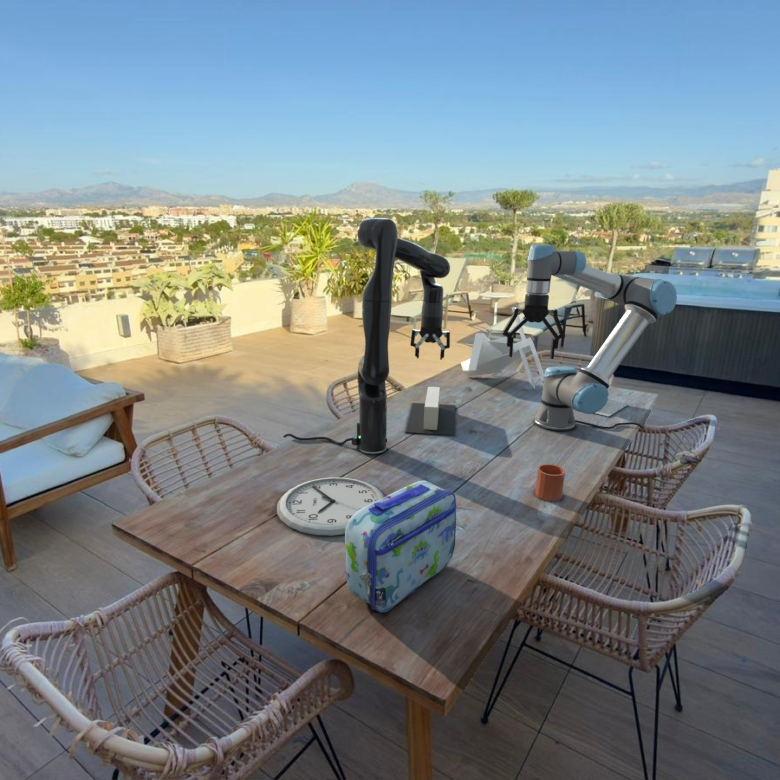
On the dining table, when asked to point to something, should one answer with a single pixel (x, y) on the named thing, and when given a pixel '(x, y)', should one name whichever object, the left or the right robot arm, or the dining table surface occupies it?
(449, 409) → the dark rubber mat
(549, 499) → the terracotta pot
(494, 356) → the white plastic object
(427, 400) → the cream beam
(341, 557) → the dining table surface
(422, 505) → the lunch box
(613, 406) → the invitation card
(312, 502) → the wall clock
